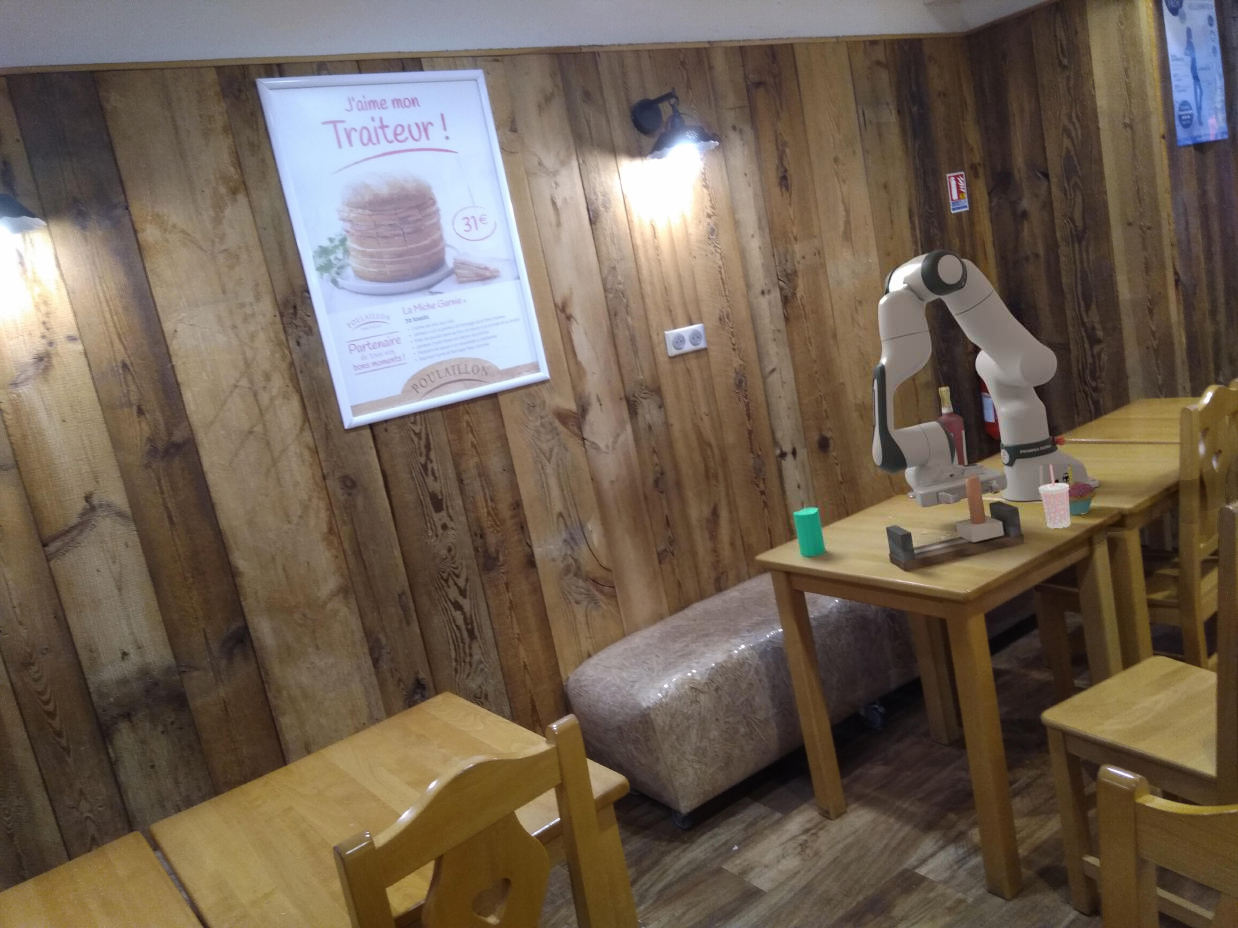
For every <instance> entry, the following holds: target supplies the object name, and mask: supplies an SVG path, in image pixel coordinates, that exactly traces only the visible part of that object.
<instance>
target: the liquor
mask: <svg viewBox="0 0 1238 928" xmlns="http://www.w3.org/2000/svg"><path fill="white" fill-rule="evenodd" d="M938 393H939V396H940V400H941V415H942V416H940V417H938V418H937V419H936V420H935V421H936V422H939V423H940V424H942V425H943V426H944V427H946V428H947V429H948V430H949V432H950V433H951V434H952V436H953V439H954V444H955V458H954V462H953V464H952V465H968V464H969V463H968V455H967V447H966V435H965V426H964V418H963V416H960V415H959V414H955V413H954V409H953V406H952V401H951V392H950V387H949V386H942V387H939V388H938Z"/></svg>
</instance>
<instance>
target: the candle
mask: <svg viewBox="0 0 1238 928" xmlns="http://www.w3.org/2000/svg"><path fill="white" fill-rule="evenodd" d="M793 520H794V524H795V531H796V536H797V541H798V547H799V552H800V556H802V557H816V556H820V555H822V554H824V553H825V552H826V546H825V539H824V535H823V534H824V533H823V530H822V529H823V527H822V524H821V523H822V522H821V518H820V513H819V508H818V507H806V504H804V508H803V509H801V510H799V511H794V512H793Z"/></svg>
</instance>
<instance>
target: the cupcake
mask: <svg viewBox="0 0 1238 928" xmlns="http://www.w3.org/2000/svg"><path fill="white" fill-rule="evenodd" d="M1068 471H1069V477H1070V482H1069V483H1066V484H1068V485H1069V490H1068V494H1069V510H1070V514H1081V513H1086V512H1088V511H1089V512H1090V510H1091V509H1090V508H1091V504H1092V501H1093V499H1094V498H1095V496H1096V492H1095V491H1096V490H1095V487H1094V488H1093V487H1092V486H1091V485H1089V484H1086V483H1083V482H1073V475H1072V469H1071V467H1070V464H1069V467H1068ZM1089 512H1088V513H1089ZM1086 514H1087V513H1086Z"/></svg>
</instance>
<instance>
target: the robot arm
mask: <svg viewBox="0 0 1238 928" xmlns="http://www.w3.org/2000/svg"><path fill="white" fill-rule="evenodd" d="M883 285H884V287H883V293H884V294H883V297H881V298H880V300H879V302H878V306H877V307H878V308H877V309H878V310H877V313H878V316H877V317H878V328H879V329H878V330H879V336H880V341H881V343H880V344H881V354H880V355H881V357H880V360H879V363H878V364H877V365H875V366H874V368H873V372H872V379H871V380H872V381H871V382H872V384H871V386H872V387H871V388H872V389H871V391H872V394H871V397H872V400H871V401H872V428H873V429H872V431H873V432H872V444H871V450H872V451H871V452H872V459H873V462H874V464H875V465H876V467H877V468H878V469H880V470H882V471H883V472H885V473H887V474H890V475H891V474H892V475H893V474H897V473H899V472H902V471H904V476H905V481H906V482H907V484H908V485H909V486H910V488H912V490H911V491H910V492H907V495H906V496H907V497H908V498H910V499H914V501H915V503H916V504H917V505H918V506H920V507H921V508H930V507H934V506H939V505H943V504H945V505H953V504H957V503H960V501H961V500H964V499H968V498H967V492H966V485H965V478H966V477H971V476H979V478H980V485H981V492H982V495H986V494H993V495H995V494H999V493H1001V491H1002V498H1003V499H1005V500H1009V501H1016V502H1027V501H1028V502H1029V501H1031V502H1033V501H1042V497H1041V493H1040V492H1039V487H1040V486H1043V485H1046V484H1052V479H1051V472H1050V465H1051V464H1052V469H1053V476H1054V483H1065V484H1066V483H1069V482H1070V477H1069V471H1068V467H1069V464H1070V467H1071V469H1072V475H1073V482H1083V483H1086V484H1089V485H1091V486H1092V487H1093V488H1094V489H1095V488H1097V487H1100V482H1099V480H1098V479H1096V478H1094V477H1091V476H1088V475H1089V474H1088V472H1087V468H1086V466H1085V465H1084V463H1083V462H1082V461H1081V460H1080V459H1078V458H1076V457H1074V456H1072V455H1070V454H1068V453H1067V452H1065V451H1063V450H1060V449H1059V446H1064V445H1065V443H1066V438H1064V437H1061V436H1055V437H1054V436H1051V435H1050V433H1049V432H1050V431H1049V427H1048V426H1049V425H1048V418H1047V412H1046V411H1047V410H1046V406H1045V405H1044V403H1043V401H1042V400H1040V398H1039V396H1038V394H1037V393H1036V390H1035V389H1034V387H1038V386H1041V385H1043V384H1046V383H1048V382H1049V381H1051V379H1053V377H1054V376H1055V374H1056V371H1057V368H1058V360H1057V357H1056V355H1055V352H1054V351H1053V350H1051V348H1049V347H1047V346H1046V345H1044V344H1043V343H1041V342H1040V341H1039V340H1037V338H1036V337H1034V336H1033V335H1032V334H1031V332H1029V330H1028V329H1026V327H1024V325H1022V324H1021V323H1020V322H1019V321H1018V320H1017V319H1016V318H1015V317H1014V315H1013V314H1012V313H1011V311H1010V310H1009V309H1008V307H1007V305H1006V304H1005V303H1004V302H1003V300H1002V299H1001V297H1000V296H999V294H998V293H997V291H996V290H995V288H994V287H993V285H992V284H991V282H990V281H989V280H988V279H987V277H986V276H985V274H983V271H981V270H980V269H979V267H977V265H975V264H974V263H973V262H972V261H970V260H969V259H966V258H961V257H960V256H959V255H958V254H957V253H955V252H954V251H952V250H949V249H938V250H932V251H930V252H929V253H928V252H927V253H924V254H922V255H918V256H915V257H914V258H912V259H910V260H908V261H907V262H905V263H903V264H900V265H898V266H896V267H895V268H893V269H891V270H890V272H889V273H888V274H887V276H886V278H885V280H884V284H883ZM938 298H939V299H941V300H942V301H943V302H944V303H945V305H946V306H947V308H948V310H949V312H950V313H951V315H952V316H953V318H954V319H955V320H956V322H957V323H958V325H959V327H960V328H961V330H962V331H963V333H964V334H965V336H966V337H967V339H968V340H969V341H971V342H972V343H974V344H975V345H976V346H977V347H978V348H980V349H981V350H980V351H979V353H978V354H977V357H976V359H975V370H976V371H977V374H978V376H980V378H981V379H982V380H983V382H984V383H985V385H986V388H987V391H988V392H989V396H990V397H991V398H990V399H991V401H992V403H993V406H994V408H995V412H996V416H997V420H998V421H997V422H998V429H999V432H1000V433H999V434H1000V440H1001V441H1000V442H999V447H1000V455H1001V456H1000V457H1001V459H1002V464H1003V470H1004V471H1002V470H999V469H997V468H992V467H984V464H982V463H967V464H968V465H952V464H953V462H954V458H955V444H954V439H953V436H952V434H951V433H950V432H949V430H948V429H947V428H946V427H944V426H943V425H942V424H940V423H939V422H936V420H935V421H929V422H924V423H920V424H915V425H912V426H908V427H903V428H899V429H895V422H894V421H895V419H894V396H895V393H896V389H897V388H898V387H899V386H900V385H901V384H902V383H903V382H904V381H906V380H907V379H909V378H910V377H912V376H914V375H915V374H917V373H918V372H920V370H922V369H923V367H924V366H925V365H926V364H927V363H928V361H929V359H930V357H931V354H932V339H931V334H930V331H929V329H930V328H929V325H928V320H927V318H926V308H927V304H928V303H930V302H932V301H934V300H937V299H938ZM1057 445H1059V446H1057Z"/></svg>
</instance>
